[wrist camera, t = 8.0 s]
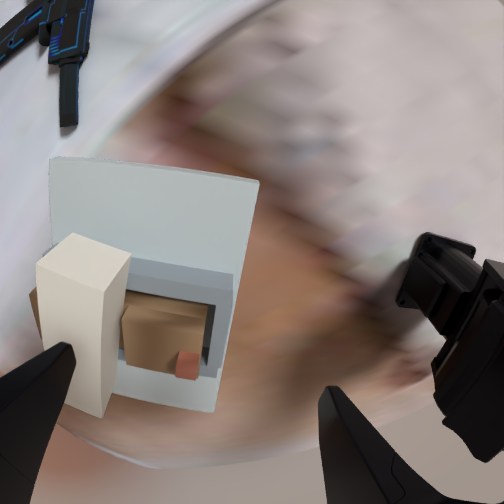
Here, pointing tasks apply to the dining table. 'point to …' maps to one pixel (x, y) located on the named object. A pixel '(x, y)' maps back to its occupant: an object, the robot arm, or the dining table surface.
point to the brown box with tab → (158, 332)
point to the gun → (54, 43)
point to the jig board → (163, 250)
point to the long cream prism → (84, 313)
